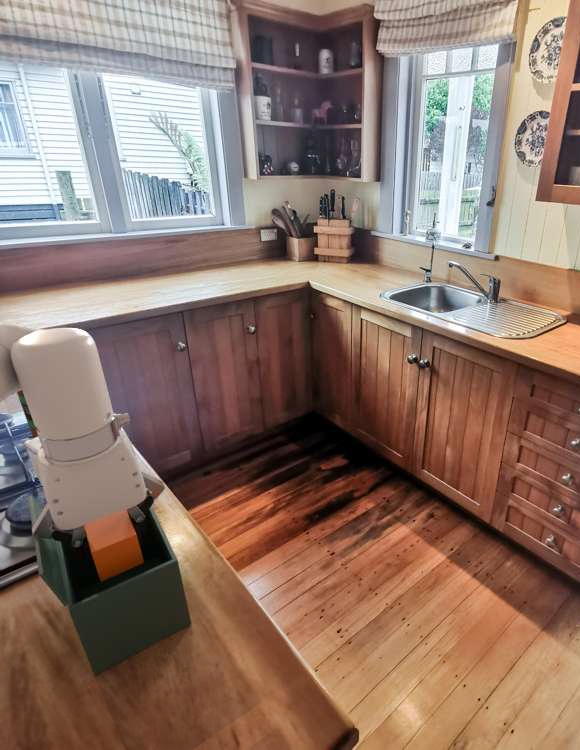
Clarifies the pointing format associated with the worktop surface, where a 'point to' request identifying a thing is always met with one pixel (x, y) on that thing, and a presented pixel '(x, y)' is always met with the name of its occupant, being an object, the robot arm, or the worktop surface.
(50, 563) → the flap
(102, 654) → the green lidded box
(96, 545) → the orange rectangular block
